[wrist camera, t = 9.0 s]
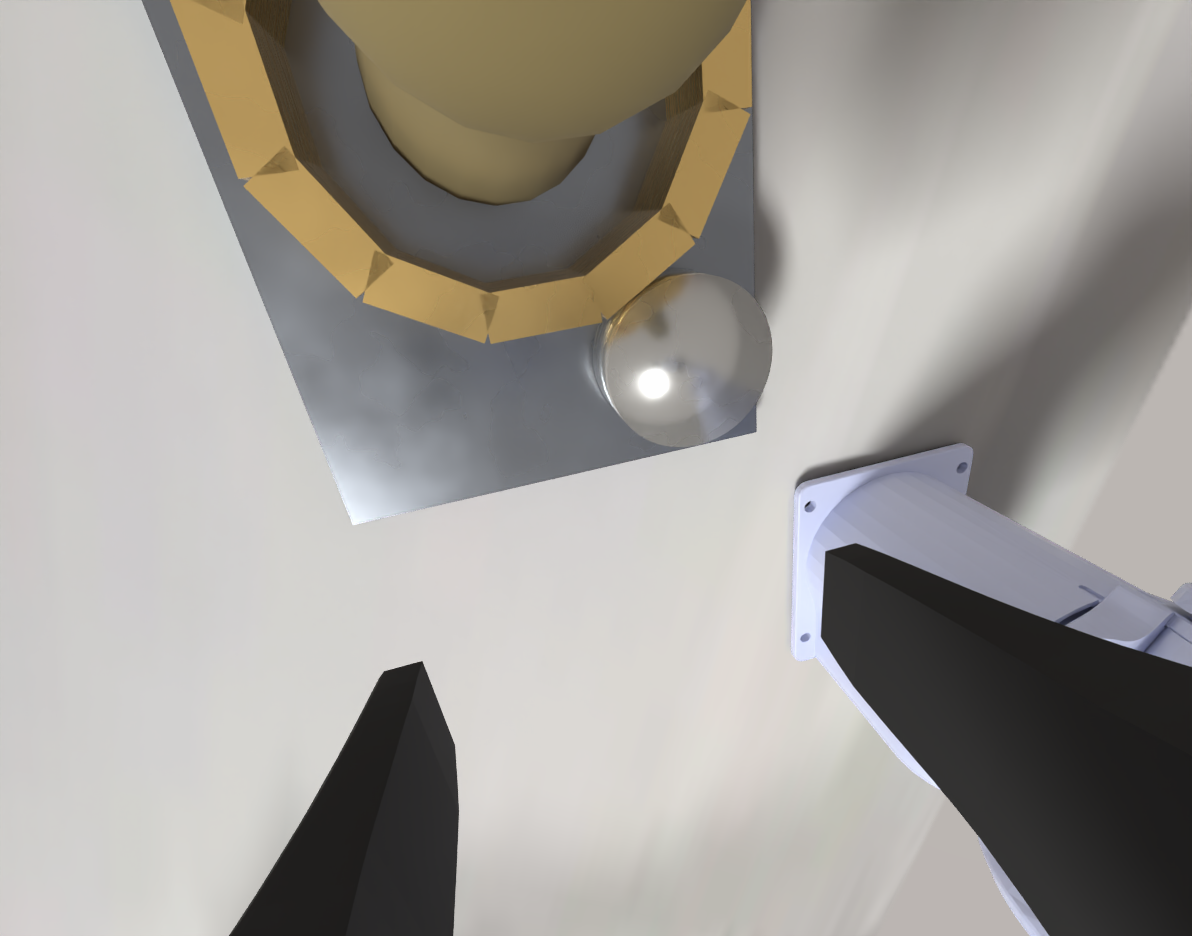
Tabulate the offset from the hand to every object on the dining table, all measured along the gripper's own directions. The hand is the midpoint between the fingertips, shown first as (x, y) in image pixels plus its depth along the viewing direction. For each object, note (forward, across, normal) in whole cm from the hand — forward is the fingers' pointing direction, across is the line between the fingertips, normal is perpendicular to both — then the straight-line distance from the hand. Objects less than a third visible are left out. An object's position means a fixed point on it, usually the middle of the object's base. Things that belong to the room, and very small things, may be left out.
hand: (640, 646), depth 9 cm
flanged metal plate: (+10, 0, -8) cm, 13 cm away
